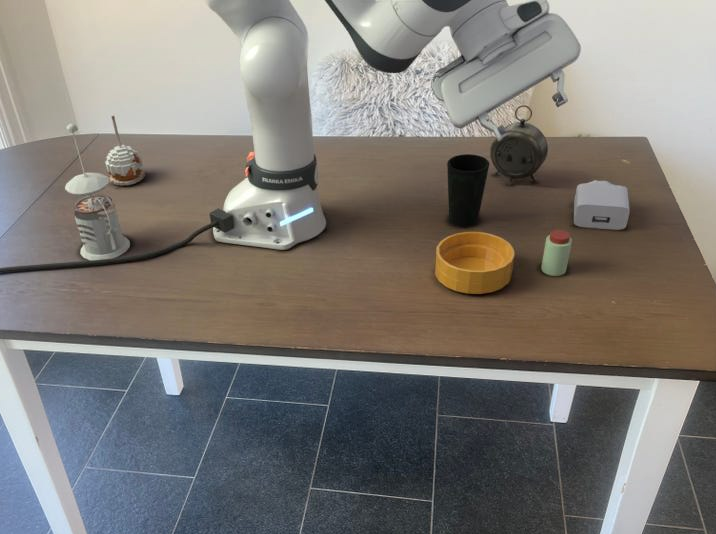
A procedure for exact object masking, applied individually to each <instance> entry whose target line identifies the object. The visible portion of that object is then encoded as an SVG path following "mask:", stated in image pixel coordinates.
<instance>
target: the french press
mask: <svg viewBox="0 0 716 534" xmlns="http://www.w3.org/2000/svg"><path fill="white" fill-rule="evenodd" d="M78 128H79V127H78V126H77V125H76V124H75V123H69V124H67V125H66V132H67V133H70V134H71V133H72V136H73V140H74V144H75V147H76V150H77V151H76V152H77V154H78V157H79V161H80V166H81V169H82V172H83V173H81V174H78V175H74V177H72V178H71V179H70V180H69V181H68V182H67V183H66V184H65V187H64V190H65V191H66V192H67V193H68V194H69V195H73V196H79V197H80V196H82V198H80V199H78V200H77V201H75V203H74V204H73V209H74V214H73V215H74V220H75V222H76V225H78V226H77V229H78V231H80V232H79V235H80V237H81V242H82V243H83V244H82V247H80V252H79V253H80V255H81V257H82V258H83V259H86V260H87V261H91V260H101V259H110V258H119V257H120V256H122V255H123V254H125V253H126V252H127V251H128V250H129V249H130V246H131V243H130V242H131V241H130V240H129V239H128V238H127V237H125V236H124V234H123V231H122V228H121V224H120V219H119V215H118V212H117V209H116V205H115V203H113V198H111V196H109V195H107V194H99V193H100V192H102V191H104V190H105V189H106V188H107V186H108V185H109V183H110V179H109V177H108V176H107V175H106V174H102V173H99V172H86V171H85V167H84V164H83V160H82V156H81V153H80V150H79V146H78V143H77V139H76V136H75V133H76V132H77V131H78V130H79V129H78ZM97 193H98V194H97ZM83 196H84V197H83ZM110 210H113V211H111V212H108V211H110ZM101 212H105V213H101ZM105 218H107V219H105ZM108 223H109V224H108ZM107 224H108V225H107ZM108 229H109V230H108Z"/></svg>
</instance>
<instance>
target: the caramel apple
mask: <svg viewBox="0 0 716 534" xmlns="http://www.w3.org/2000/svg"><path fill="white" fill-rule="evenodd" d="M110 116H111V121H112V126H113V129H114V133H115V137H116V142H117V146H114V147H113V149H110V150H109V152H108V153H107V155H106V160H105V161H104V163H105V166H106V170H107V173H108V175H110V176H109V177H108V178H109V182H110V183H111V184H114V185H117V186H130V185H134V184H135V185H136V184H137V183H139V182H141V181H142V180H143V179H144V177H145V176H146V173H145V172H144V170H143V167H142V166H144V165H143V160H142V157H141V155H140V154H138V151H137V150H134V148H133V147H131V146H130V145H128V146H126V145H125V144H122V142H121V139H120V135H119V131H118V126H117V122H116V117H115V114H112V115H110Z"/></svg>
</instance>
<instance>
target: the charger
mask: <svg viewBox="0 0 716 534" xmlns="http://www.w3.org/2000/svg"><path fill="white" fill-rule="evenodd" d="M628 191H629V189H628V188H627V187H626V186H623V185H617V184H613V183H611V182H610V181H606V180H597V179H594V180H593V181H589V182H586V183H585V182H584V183H580V184H578V185H577V186H576V190H575V195H574V200H573V225H575V226H577V227H579V228H587V229H588V228H589V229H599V230H600V229H601V230H602V229H603V230H613V231H619V230H624V229H626V227H627V224H628V221H629V216H630V212H631V211H630V201H629V192H628Z"/></svg>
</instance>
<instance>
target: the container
mask: <svg viewBox="0 0 716 534" xmlns="http://www.w3.org/2000/svg"><path fill="white" fill-rule="evenodd" d="M572 243H573V239H572V237H571V234H570V233H569V231H566V230H563V229H555V230H552V231H551V232H550V233H549V235H547V236H546V239H545V243H544V249H543V254H542V260H541V267H540V269H541V271H542V273H543V274H545V275H548V276H552V277H559V276H563V275H564V274H565V273H566V272H567V268H568V263H569V259H570V255H571V249H572Z"/></svg>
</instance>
